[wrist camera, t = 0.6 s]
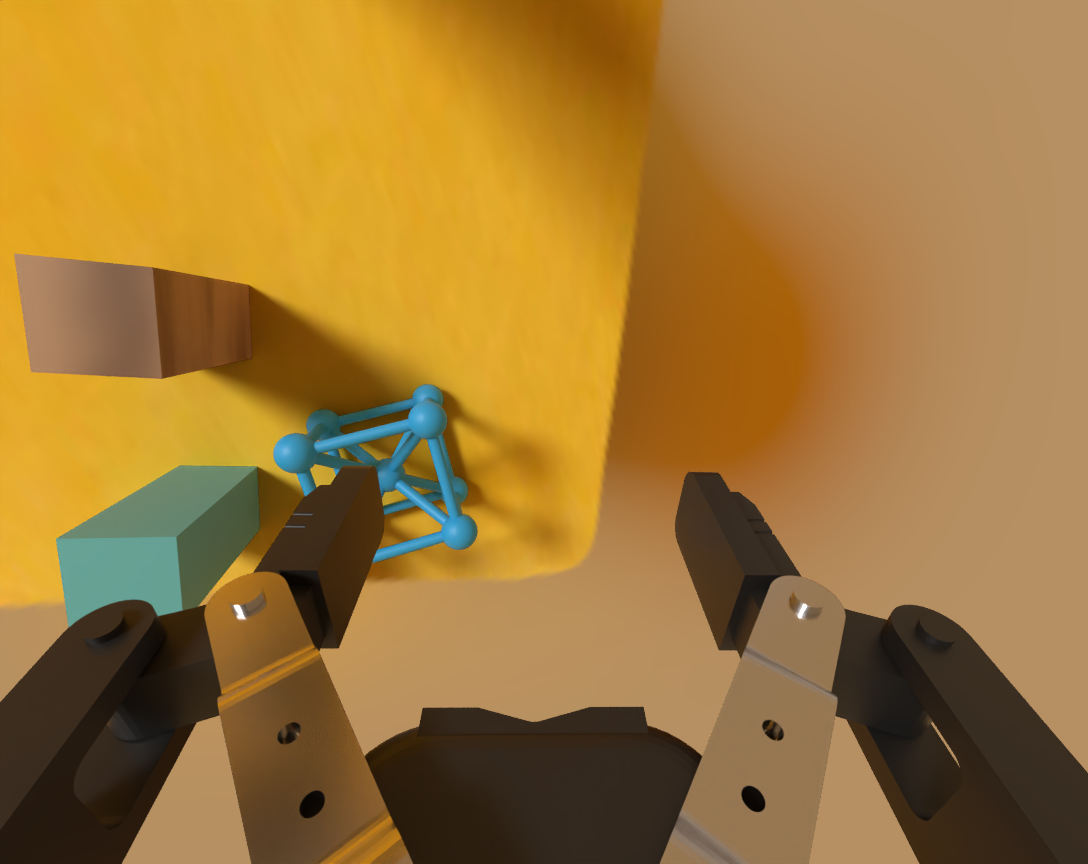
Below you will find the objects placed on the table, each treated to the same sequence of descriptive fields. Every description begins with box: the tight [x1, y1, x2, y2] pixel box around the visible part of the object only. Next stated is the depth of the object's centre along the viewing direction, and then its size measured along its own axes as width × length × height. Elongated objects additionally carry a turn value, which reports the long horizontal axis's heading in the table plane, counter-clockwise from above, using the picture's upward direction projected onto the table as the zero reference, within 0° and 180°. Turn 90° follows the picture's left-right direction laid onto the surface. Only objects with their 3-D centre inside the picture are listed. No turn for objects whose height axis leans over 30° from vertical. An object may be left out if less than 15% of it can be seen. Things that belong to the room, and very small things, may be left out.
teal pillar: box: [56, 466, 260, 627], centre depth 30 cm, size 5×5×12 cm
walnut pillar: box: [14, 254, 252, 379], centre depth 27 cm, size 5×5×12 cm
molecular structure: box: [273, 384, 478, 563], centre depth 33 cm, size 10×10×10 cm
